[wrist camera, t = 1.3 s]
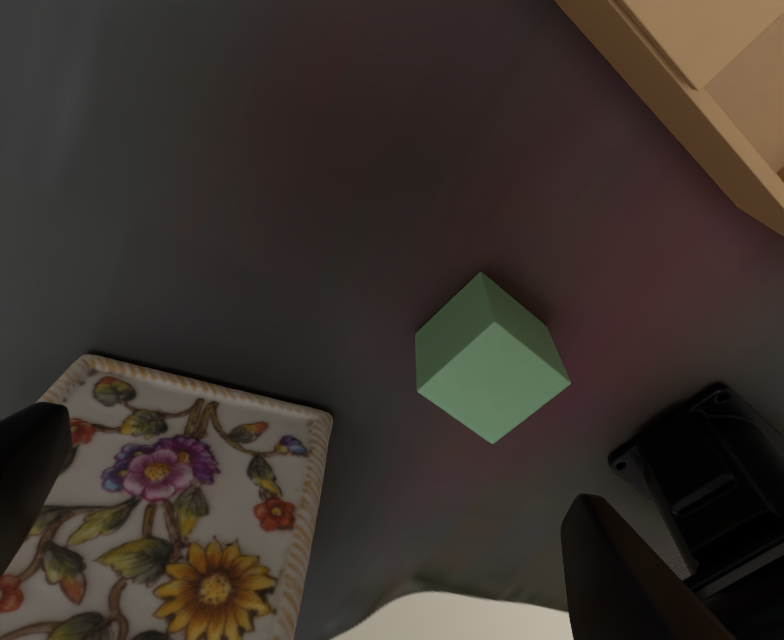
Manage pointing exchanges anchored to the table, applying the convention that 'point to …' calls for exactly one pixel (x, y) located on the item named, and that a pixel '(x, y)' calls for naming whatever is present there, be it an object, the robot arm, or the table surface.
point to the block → (487, 360)
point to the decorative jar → (170, 513)
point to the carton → (706, 84)
